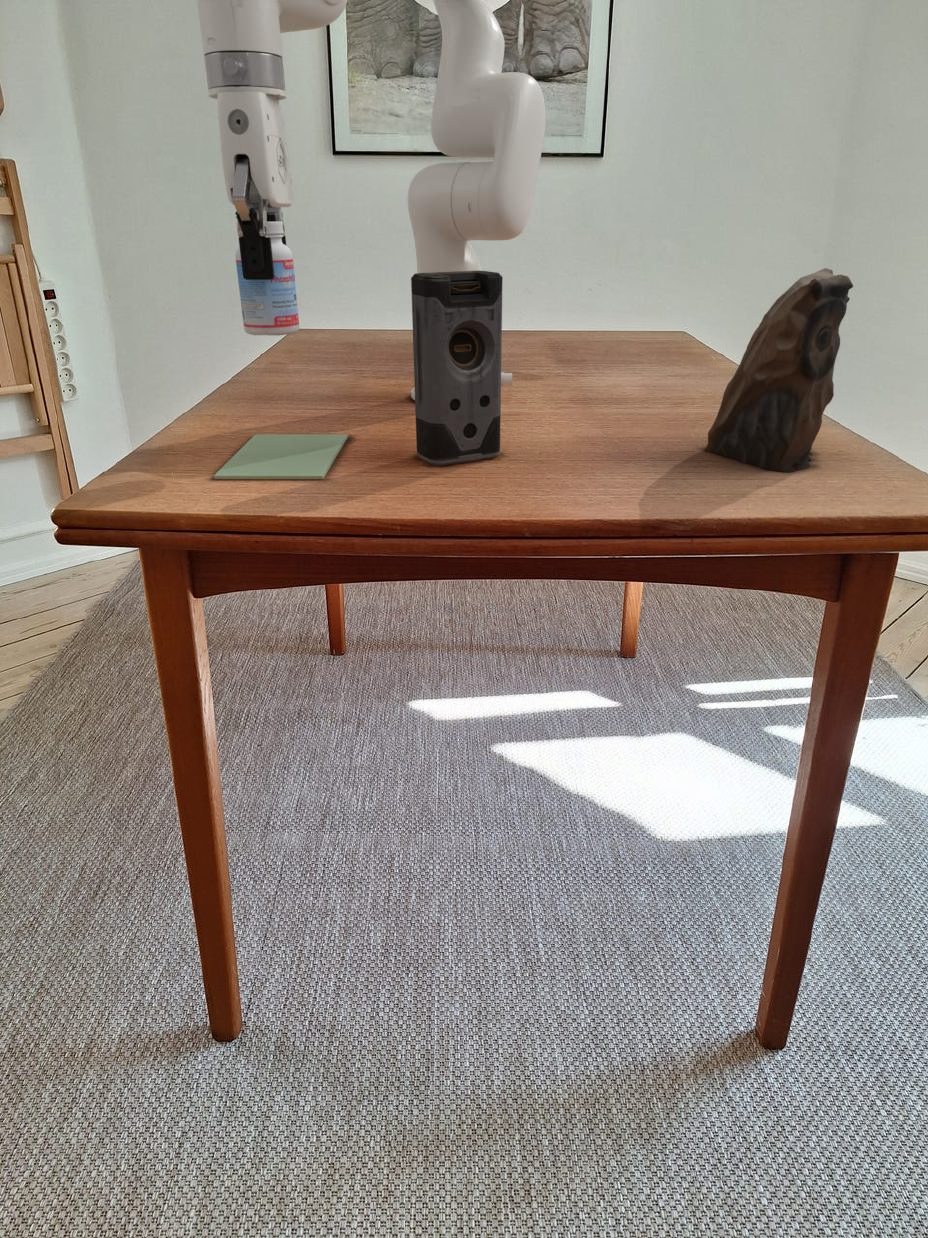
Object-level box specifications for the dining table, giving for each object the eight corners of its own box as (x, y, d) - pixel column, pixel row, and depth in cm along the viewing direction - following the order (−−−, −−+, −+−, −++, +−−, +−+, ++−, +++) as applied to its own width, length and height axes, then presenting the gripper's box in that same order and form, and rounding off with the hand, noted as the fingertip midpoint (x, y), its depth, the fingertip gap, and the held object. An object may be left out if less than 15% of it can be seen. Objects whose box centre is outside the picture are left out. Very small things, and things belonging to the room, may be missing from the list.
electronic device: (433, 468, 92) (429, 276, 83) (412, 455, 96) (405, 273, 87) (505, 457, 95) (508, 273, 86) (481, 445, 100) (481, 269, 91)
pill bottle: (287, 337, 88) (275, 222, 83) (235, 336, 89) (220, 222, 84) (308, 329, 93) (298, 220, 88) (258, 328, 94) (246, 220, 89)
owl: (789, 439, 102) (820, 266, 92) (861, 467, 91) (903, 273, 82) (700, 448, 98) (723, 269, 89) (763, 478, 88) (796, 277, 78)
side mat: (348, 437, 104) (347, 434, 104) (323, 479, 88) (322, 475, 88) (255, 437, 105) (255, 434, 104) (213, 479, 89) (213, 475, 88)
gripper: (262, 66, 73) (283, 283, 81) (301, 91, 88) (316, 271, 96) (179, 67, 73) (208, 283, 81) (233, 91, 88) (253, 271, 96)
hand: (266, 275), depth 88 cm, fingers closed on pill bottle, 6 cm apart
